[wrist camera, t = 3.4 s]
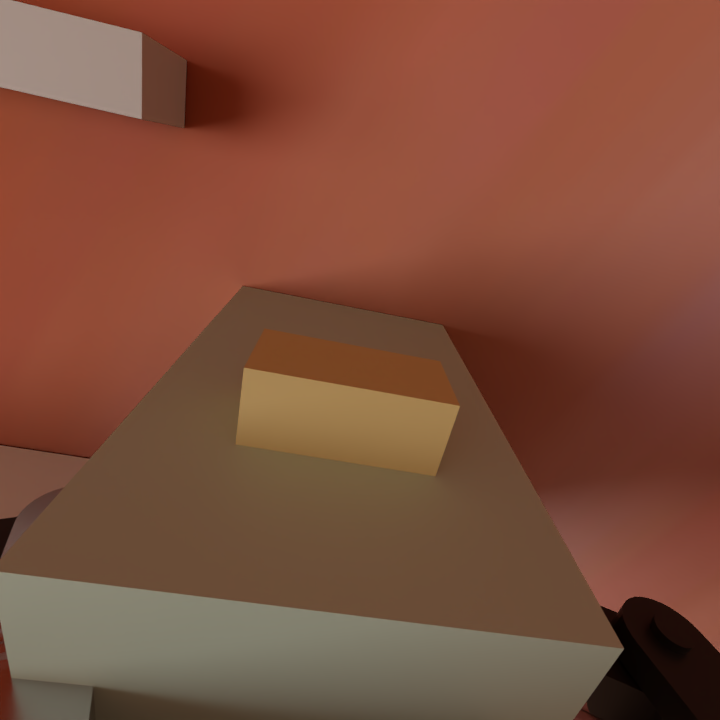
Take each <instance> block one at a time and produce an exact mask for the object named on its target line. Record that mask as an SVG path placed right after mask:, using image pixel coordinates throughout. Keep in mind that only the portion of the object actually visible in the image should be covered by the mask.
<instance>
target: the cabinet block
mask: <svg viewBox="0 0 720 720" xmlns="http://www.w3.org/2000/svg"><path fill="white" fill-rule="evenodd" d="M0 623H1V628H2V633H3V638H4V643H5V648H6V653H7V658H8V663H9V668H10V673H11V678H17V679H27V680H37V681H47V682H57V683H67V684H76V685H86V686H93V689H94V703H95V717H96V720H573V719H574V718H575V717H576V715H577V714H578V712H579V711H580V710H581V708H582V707H583V706H584V704H585V703H586V701H587V700H588V699H589V697H590V696H591V694H592V693H593V692H594V690H595V689H596V687H597V686H598V685H599V683H600V682H601V680H602V679H603V678H604V676H605V675H606V673H607V672H608V671H609V669H610V668H611V666H612V665H613V664H614V662H615V661H616V660H617V658H618V657H619V655H620V654H621V653H622V651H623V650H624V648H623V646H622V644H621V642H620V640H619V639H618V637H617V635H616V633H615V632H614V630H613V628H612V626H611V624H610V623H609V621H608V619H607V617H606V615H605V614H604V612H603V610H602V608H601V607H600V605H599V603H598V601H597V599H596V598H595V596H594V594H593V592H592V591H591V589H590V587H589V585H588V583H587V582H586V580H585V578H584V576H583V574H582V573H581V571H580V569H579V567H578V566H577V564H576V562H575V560H574V558H573V557H572V555H571V553H570V551H569V549H568V548H567V546H566V544H565V542H564V541H563V539H562V537H561V535H560V533H559V532H558V530H557V528H556V526H555V525H554V523H553V521H552V519H551V517H550V516H549V514H548V512H547V510H546V508H545V507H544V505H543V503H542V501H541V500H540V498H539V496H538V494H537V492H536V491H535V489H534V487H533V485H532V484H531V482H530V480H529V478H528V476H527V475H526V473H525V471H524V469H523V467H522V466H521V464H520V462H519V460H518V459H517V457H516V455H515V453H514V451H513V450H512V448H511V446H510V444H509V442H508V441H507V439H506V437H505V435H504V434H503V432H502V430H501V428H500V426H499V425H498V423H497V421H496V419H495V418H494V416H493V414H492V412H491V410H490V409H489V407H488V405H487V403H486V401H485V400H484V398H483V396H482V394H481V393H480V391H479V389H478V387H477V385H476V384H475V382H474V380H473V378H472V377H471V375H470V373H469V371H468V369H467V368H466V366H465V364H464V362H463V360H462V359H461V357H460V355H459V353H458V352H457V350H456V348H455V346H454V344H453V343H452V341H451V339H450V337H449V335H448V334H447V332H446V330H445V328H444V327H443V325H440V324H435V323H430V322H425V321H420V320H414V319H409V318H404V317H399V316H394V315H389V314H384V313H379V312H374V311H368V310H363V309H358V308H353V307H348V306H343V305H338V304H333V303H328V302H322V301H317V300H312V299H307V298H302V297H297V296H292V295H287V294H281V293H276V292H271V291H266V290H261V289H256V288H251V287H246V286H242V288H241V289H240V290H239V291H238V292H237V293H236V294H235V295H234V297H233V298H232V299H231V300H230V301H229V302H228V303H227V304H226V306H225V307H224V308H223V309H222V310H221V311H220V312H219V313H218V315H217V316H216V317H215V318H214V319H213V320H212V321H211V323H210V324H209V325H208V326H207V327H206V328H205V329H204V330H203V332H202V333H201V334H200V335H199V336H198V337H197V338H196V339H195V341H194V342H193V343H192V344H191V345H190V346H189V347H188V348H187V350H186V351H185V352H184V353H183V354H182V355H181V356H180V357H179V359H178V360H177V361H176V362H175V363H174V364H173V365H172V366H171V368H170V369H169V370H168V371H167V372H166V373H165V374H164V375H163V377H162V378H161V379H160V380H159V381H158V382H157V383H156V384H155V386H154V387H153V388H152V389H151V390H150V391H149V392H148V394H147V395H146V396H145V397H144V398H143V399H142V400H141V401H140V403H139V404H138V405H137V406H136V407H135V408H134V409H133V410H132V412H131V413H130V414H129V415H128V416H127V417H126V418H125V419H124V421H123V422H122V423H121V424H120V425H119V426H118V427H117V428H116V430H115V431H114V432H113V433H112V434H111V435H110V436H109V437H108V439H107V440H106V441H105V442H104V443H103V444H102V445H101V446H100V448H99V449H98V450H97V451H96V452H95V453H94V454H93V455H92V457H91V458H90V459H89V460H88V461H87V462H86V463H85V465H84V466H83V467H82V468H81V469H80V470H79V471H78V472H77V474H76V475H75V476H74V477H73V478H72V479H71V480H70V481H69V483H68V484H67V485H66V486H65V487H64V488H63V489H62V490H61V492H60V493H59V494H58V495H57V496H56V497H55V498H54V499H53V501H52V502H51V503H50V504H49V505H48V506H47V507H46V508H45V510H44V511H43V512H42V513H41V514H40V515H39V516H38V517H37V519H36V520H35V521H34V522H33V523H32V524H31V525H30V527H29V528H28V529H27V530H26V531H25V532H24V533H23V534H22V536H21V537H20V538H19V539H18V540H17V541H16V542H15V543H14V545H13V546H12V547H11V548H10V549H9V550H8V551H7V552H6V554H5V555H4V556H3V557H2V558H1V559H0Z"/></svg>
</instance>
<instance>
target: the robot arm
mask: <svg viewBox="0 0 720 720" xmlns="http://www.w3.org/2000/svg"><path fill="white" fill-rule="evenodd" d="M62 489H63V488H60V489H57V490H54V491H51V492H49V493H46V494H44V495H42V496H40V497H39V498H37V499H35V500H34V501H32V502H31V503H30V504H28V505H27V506H26V507H25V508H24V509H23V510H22V511H21V512H20V514H19V515H18V516H17V517H12V518H4V519H0V559H1V558H2V557H3V556H4V555H5V554H6V552H7V551H8V550H9V549H10V548H11V547H12V546H13V545H14V543H15V542H16V541H17V540H18V539H19V538H20V537H21V536H22V534H23V533H24V532H25V531H26V530H27V529H28V528H29V527H30V525H31V524H32V523H33V522H34V521H35V520H36V519H37V517H38V516H39V515H40V514H41V513H42V512H43V511H44V510H45V508H46V507H47V506H48V505H49V504H50V503H51V502H52V501H53V499H54V498H55V497H56V496H57V495H58V494H59V493H60V492H61V490H62ZM600 607H601V608H602V610H603V612H604V614H605V615H606V617H607V619H608V621H609V623H610V624H611V626H612V628H613V630H614V632H615V633H616V635H617V637H618V639H619V640H620V642H621V644H622V646H623V648H624V650H623V651H622V653H621V654H620V655H619V657H618V658H617V660H616V661H615V662H614V664H613V665H612V666H611V668H610V669H609V671H608V672H607V673H606V675H605V676H604V678H603V679H602V680H601V682H600V683H599V685H598V686H597V687H596V689H595V690H594V692H593V693H592V694H591V696H590V697H589V699H588V700H587V701H586V703H585V704H584V706H583V707H582V708H581V710H580V711H579V712H578V714H577V715H576V717H575V718H574V719H573V720H720V653H719V652H718V651H717V650H716V649H715V648H714V647H713V645H712V644H711V643H710V642H709V641H708V640H707V639H706V638H705V637H704V636H703V635H702V634H701V633H700V632H699V631H698V630H697V629H696V628H695V627H694V626H693V625H692V624H691V623H690V622H689V621H688V620H687V619H685V618H684V617H683V616H681V615H680V614H679V613H677V612H676V611H674V610H673V609H671V608H670V607H668V606H666V605H664V604H662V603H660V602H657V601H655V600H652V599H649V598H644V597H633V598H630V599H628V600H626V602H625V603H624V604H623V606H622V607H621V609H620V610H619V612H618V613H617V612H614V611H612V610H610V609H607V608H605V607H602V606H600ZM0 720H96V717H95V703H94V689H93V686H86V685H76V684H67V683H57V682H47V681H37V680H27V679H17V678H11V673H10V668H9V663H8V658H7V653H6V648H5V643H4V638H3V633H2V628H1V623H0Z"/></svg>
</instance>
